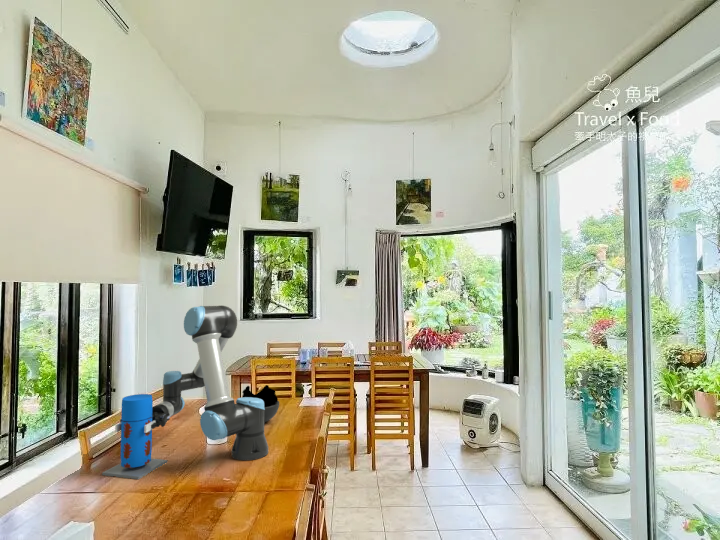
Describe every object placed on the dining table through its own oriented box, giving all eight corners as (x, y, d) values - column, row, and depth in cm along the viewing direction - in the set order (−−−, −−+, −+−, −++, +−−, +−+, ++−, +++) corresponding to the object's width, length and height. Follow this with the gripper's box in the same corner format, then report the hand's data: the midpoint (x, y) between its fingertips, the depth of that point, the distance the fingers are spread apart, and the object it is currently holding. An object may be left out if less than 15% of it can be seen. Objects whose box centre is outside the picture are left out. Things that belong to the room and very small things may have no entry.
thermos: (138, 469, 163) (139, 401, 164) (113, 466, 165) (115, 400, 166) (157, 457, 173) (158, 394, 175) (134, 455, 176) (135, 393, 177)
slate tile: (167, 462, 175) (167, 460, 175) (138, 479, 159) (138, 476, 159) (133, 459, 179) (133, 456, 179) (102, 475, 163) (102, 472, 163)
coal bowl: (287, 420, 231) (287, 384, 231) (259, 431, 214) (259, 392, 215) (260, 414, 241) (260, 380, 242) (231, 424, 224) (232, 387, 225)
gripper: (186, 421, 187) (160, 439, 165) (134, 421, 188) (101, 438, 166) (187, 404, 187) (160, 419, 165) (134, 403, 189) (101, 418, 167)
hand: (130, 429), depth 166 cm, fingers closed on thermos, 11 cm apart
